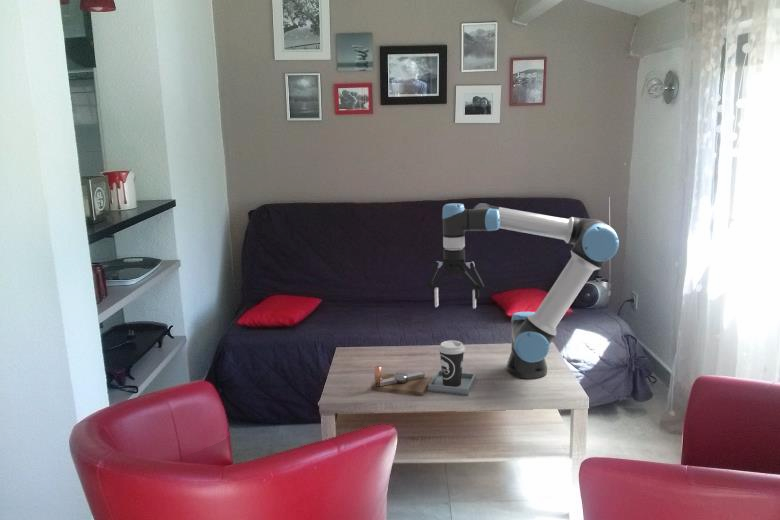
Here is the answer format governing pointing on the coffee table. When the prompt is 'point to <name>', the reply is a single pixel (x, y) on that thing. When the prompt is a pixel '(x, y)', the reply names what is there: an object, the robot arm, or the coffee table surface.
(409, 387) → the crank base
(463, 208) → the robot arm
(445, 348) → the coffee cup
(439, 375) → the tray
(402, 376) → the crank
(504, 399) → the coffee table surface
